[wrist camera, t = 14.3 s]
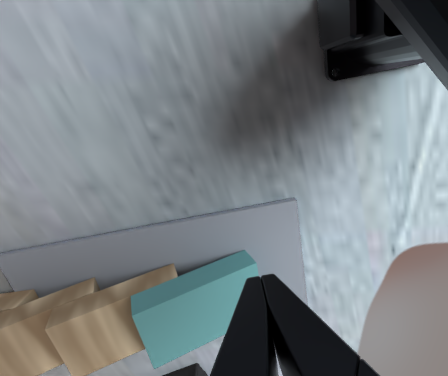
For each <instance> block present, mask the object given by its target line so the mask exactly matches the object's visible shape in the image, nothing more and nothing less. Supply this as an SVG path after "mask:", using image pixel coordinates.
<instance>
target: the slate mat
mask: <svg viewBox="0 0 448 376" xmlns="http://www.w3.org/2000/svg"><path fill="white" fill-rule="evenodd" d="M243 250H245V251H246V252H247V253H248V254H249V255H250V256H251V257H252V258H253V259H254V261H255V262H256V263H257V268H258V274H259V276H260V278H261V276H262V275H266V274H275V275H276V276H277V277H278V278H279V279H280V280H281V281H282V282H283V283H285V284H286V285H287V286H288V287H289V288H290V289H291V290H292V291H293V292H294V293H295V294H296V295H297V296H298V297H299V298H300V299H301V300H302V301H303V302H304V303H305V304H306V305H307V306H308V302H307V292H306V283H305V274H304V264H303V255H302V246H301V236H300V227H299V218H298V208H297V200H296V199H295V198H290V199H285V200H279V201H274V202H269V203H263V204H258V205H253V206H248V207H242V208H237V209H232V210H226V211H221V212H216V213H210V214H205V215H200V216H195V217H189V218H184V219H179V220H173V221H168V222H163V223H157V224H152V225H147V226H141V227H136V228H131V229H126V230H120V231H115V232H110V233H104V234H99V235H94V236H88V237H83V238H78V239H73V240H67V241H62V242H57V243H51V244H46V245H41V246H35V247H30V248H25V249H19V250H14V251H9V252H4V253H0V269H1V271H2V272H3V274H4V276H5V277H6V279H7V280H8V282H9V284H10V285H11V287H12V289H13V290H14V292H17V291H24V290H32V289H34V290H35V292H36V294H37V295H38V297H39V298H41V297H44V296H47V295H49V294H52V293H55V292H57V291H60V290H62V289H65V288H68V287H70V286H73V285H75V284H78V283H81V282H83V281H86V280H88V279H91V278H94V277H95V279H96V281H97V284H98V286H99V288H100V290H103V289H106V288H109V287H111V286H114V285H117V284H119V283H122V282H125V281H127V280H130V279H133V278H135V277H138V276H141V275H143V274H146V273H148V272H151V271H154V270H156V269H159V268H162V267H164V266H167V265H170V264H172V263H174V266H175V269H176V272H177V275H178V277H179V276H181V275H184V274H186V273H189V272H191V271H193V270H196V269H198V268H201V267H203V266H206V265H208V264H211V263H213V262H216V261H218V260H221V259H223V258H226V257H228V256H230V255H233V254H235V253H238V252H240V251H243Z"/></svg>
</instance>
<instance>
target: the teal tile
mask: <svg viewBox="0 0 448 376" xmlns="http://www.w3.org/2000/svg"><path fill="white" fill-rule="evenodd" d="M255 276H259V274H258V268H257V263H256V262H255V261H254V259H253V258H252V257H251V256H250V255H249V254H248V253H247V252H246V251H245V250H243V251H240V252H238V253H235V254H233V255H230V256H228V257H226V258H223V259H221V260H218V261H216V262H213V263H211V264H208V265H206V266H203V267H201V268H198V269H196V270H193V271H191V272H189V273H186V274H184V275H181V276H179V277H176V278H174V279H171V280H169V281H166V282H164V283H161V284H159V285H157V286H154V287H152V288H149V289H147V290H144V291H142V292H139V293H137V294H134V295H132V296H131V311H132V318H133V320H134V322H135V325H136V327H137V330H138V332H139V334H140V337H141V339H142V341H143V344H144V346H145V348H146V351H147V353H148V355H149V358H150V360H151V363H152V365H153V367H154V369H156V368H158V367H160V366H162V365H164V364H166V363H168V362H170V361H172V360H174V359H176V358H178V357H180V356H182V355H184V354H186V353H188V352H190V351H192V350H194V349H196V348H198V347H200V346H202V345H204V344H206V343H208V342H210V341H212V340H214V339H216V338H218V337H220V336H222V335H224V334H226V331H227V329H228V326H229V323H230V321H231V318H232V316H233V313H234V310H235V308H236V305H237V302H238V300H239V297H240V294H241V292H242V289H243V286H244V284H245V281H246V279H247V278H249V277H255Z"/></svg>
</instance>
